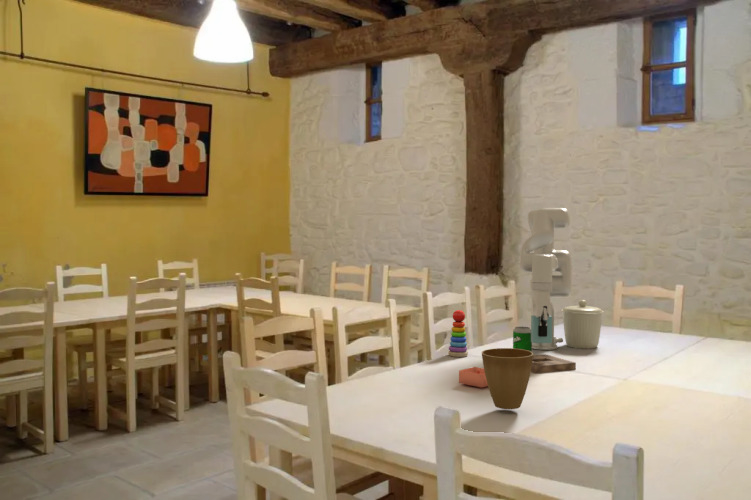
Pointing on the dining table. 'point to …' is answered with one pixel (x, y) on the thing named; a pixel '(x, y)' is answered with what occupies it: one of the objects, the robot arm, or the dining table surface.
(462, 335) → the stacking toy
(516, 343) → the soda can
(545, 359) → the walnut board
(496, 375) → the plant pot
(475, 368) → the pottery
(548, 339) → the teal block
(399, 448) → the dining table surface
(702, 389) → the dining table surface
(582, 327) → the canister
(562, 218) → the robot arm
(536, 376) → the dining table surface
